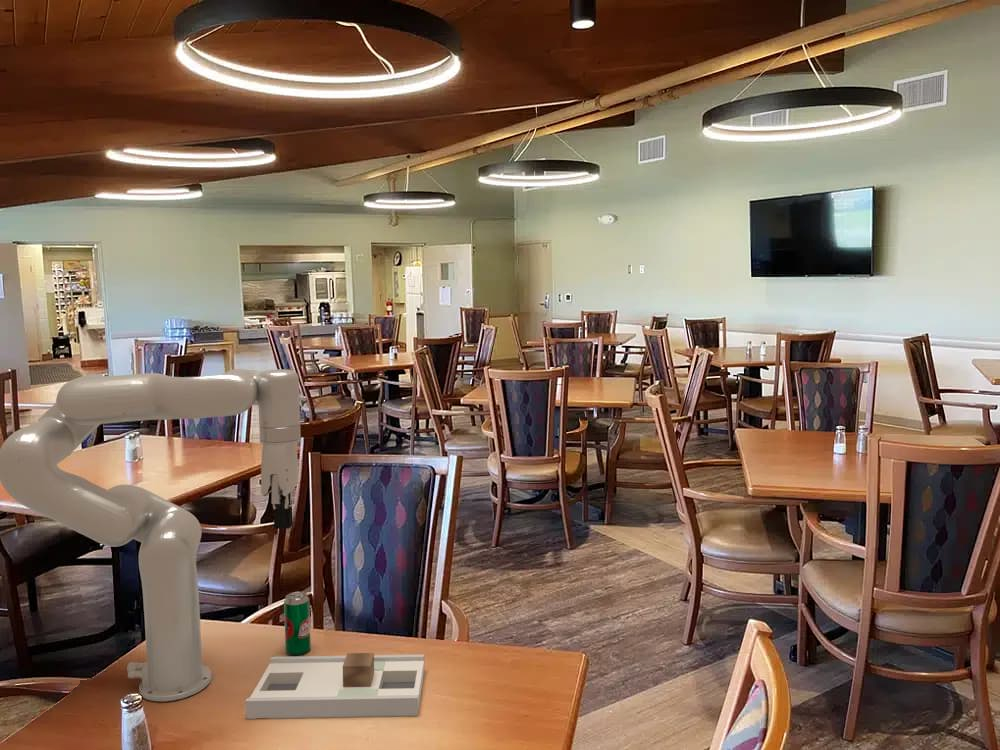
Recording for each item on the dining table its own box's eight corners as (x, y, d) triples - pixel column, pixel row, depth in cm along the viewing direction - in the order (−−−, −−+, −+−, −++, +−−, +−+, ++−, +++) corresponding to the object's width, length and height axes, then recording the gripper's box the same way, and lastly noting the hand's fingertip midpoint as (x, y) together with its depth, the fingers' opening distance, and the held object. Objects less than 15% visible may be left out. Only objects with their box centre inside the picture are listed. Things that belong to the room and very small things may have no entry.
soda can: (303, 657, 152) (302, 601, 150) (281, 655, 153) (279, 599, 151) (314, 646, 157) (313, 591, 155) (292, 644, 158) (291, 590, 156)
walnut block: (343, 687, 135) (342, 666, 135) (347, 673, 140) (347, 653, 140) (370, 686, 135) (370, 665, 135) (374, 672, 140) (373, 652, 140)
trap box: (246, 718, 130) (245, 701, 129) (271, 672, 146) (271, 656, 145) (417, 715, 130) (417, 698, 130) (424, 670, 146) (424, 654, 146)
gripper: (271, 427, 149) (274, 516, 151) (248, 441, 134) (252, 540, 136) (308, 427, 149) (311, 516, 151) (289, 441, 134) (293, 539, 136)
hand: (283, 527), depth 144 cm, fingers closed
